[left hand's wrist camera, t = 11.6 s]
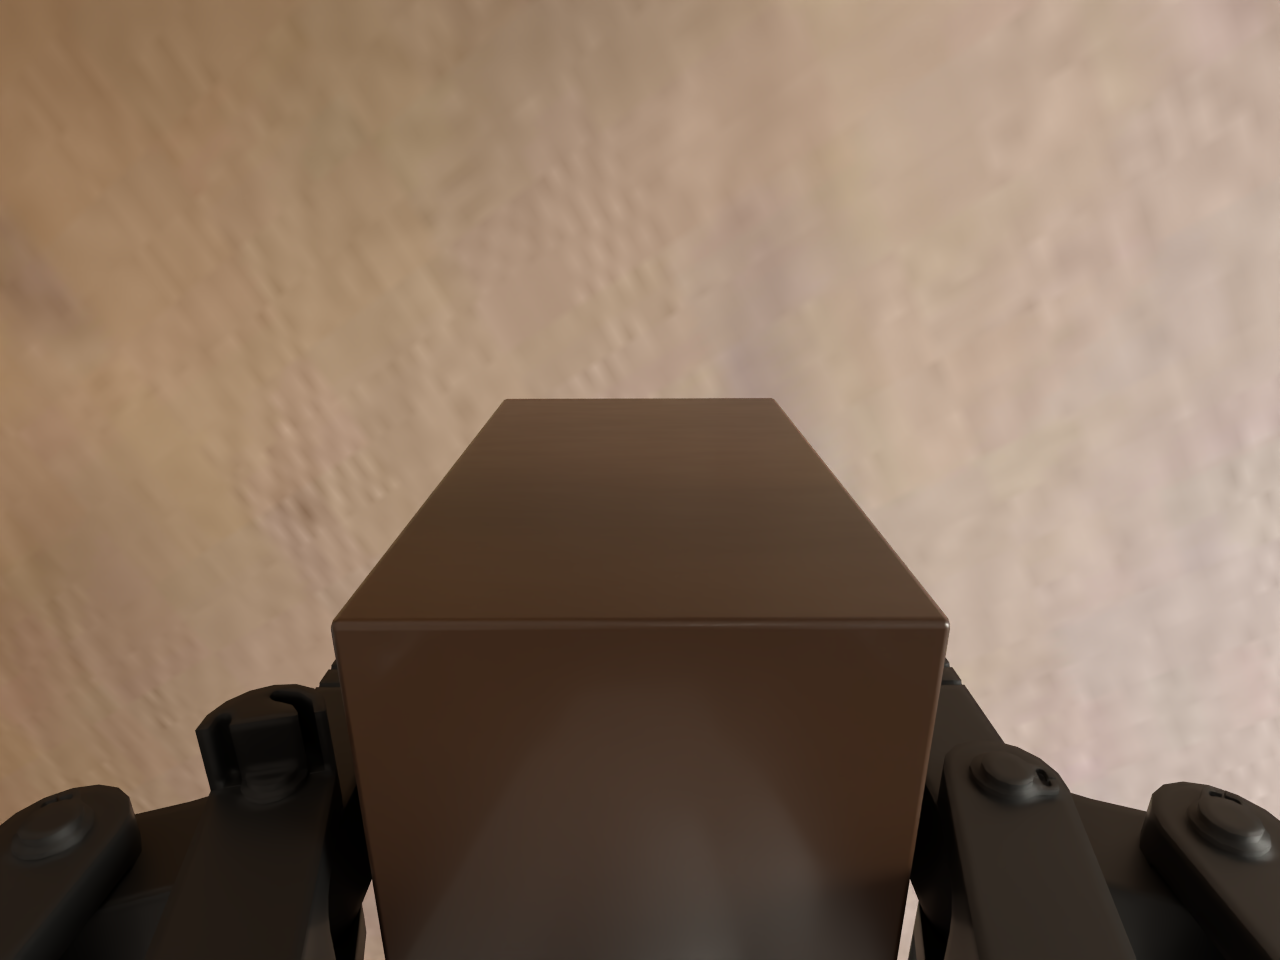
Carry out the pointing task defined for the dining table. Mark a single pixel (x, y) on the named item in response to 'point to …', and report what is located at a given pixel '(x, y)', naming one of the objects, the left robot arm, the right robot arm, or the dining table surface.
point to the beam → (640, 696)
